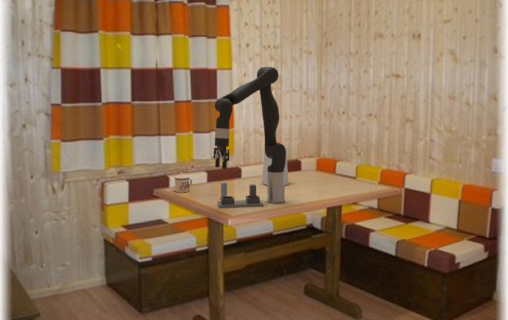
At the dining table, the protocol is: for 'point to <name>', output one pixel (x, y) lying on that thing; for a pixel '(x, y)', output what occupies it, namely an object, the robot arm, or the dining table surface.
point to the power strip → (250, 200)
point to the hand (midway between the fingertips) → (220, 168)
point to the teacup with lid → (182, 183)
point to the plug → (223, 189)
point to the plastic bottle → (267, 163)
